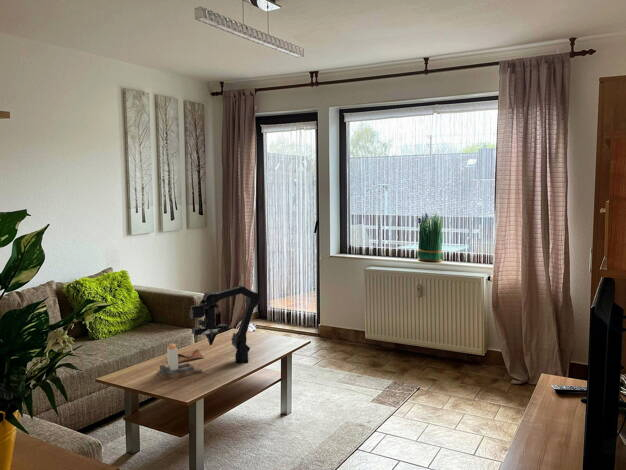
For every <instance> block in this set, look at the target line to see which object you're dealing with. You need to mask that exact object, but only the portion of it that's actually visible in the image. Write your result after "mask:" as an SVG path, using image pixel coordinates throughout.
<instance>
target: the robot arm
mask: <svg viewBox="0 0 626 470" xmlns="http://www.w3.org/2000/svg"><path fill="white" fill-rule="evenodd" d="M237 295H242V296H244V297H245V307H244V312H243V315H242V317H241V321H240V323H239V328H238V331H237V332H236V333H234V332H233V333H232V337H231V340H230V341H231V344H232V346H233V347H234V349H235V350H236V351H235V362H236V364H244V363H245V364H246V363H247V364H248V363H249V352H250V350H251V348H250V347H249V346H248V345H247V332H248V328H249V325H250V323H251V320H252V317H253V313H254V310H255V309H256V307H257V306H258V304H259V303H260V301H261V295H260V293H258V292H256V291H253V290H250V289H248V288H246V286H244V285H238V286H235V287H231V288H228V289H224V290H221V291H207V292H205V293H204V295H202V298H201V301H200V302H199V304H197V305H191V306H190V309H189V317H190V319H191V320H194V319H198V320H197V325H198V326H197V327H193V328H192V329H191V334H193V335H194V336H200V335H204V336H205V337H206V339H207V341H208V343H209V346H212V345H213V343H214V341H215V339H216V337H217V335H218V334H219V333H220V332H218V331H219V330H221V331H223V332H227V331H229V329H230V328H229V325H227V324H226V323H219V324H216V321H217V318H216V317H217V316H216V309H219V308H220V306H219V305H218V304H217V303H219V302H220V301H221V300H223V299H227V298H231V297H234V296H237ZM202 318H203V319H202ZM200 326H201V327H200Z"/></svg>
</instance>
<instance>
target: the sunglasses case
mask: <svg viewBox="0 0 626 470" xmlns="http://www.w3.org/2000/svg"><path fill="white" fill-rule="evenodd" d="M202 359H204V356H203V354H202V353H201V351H200V350H199V349H195V350H191V351H186V352H182V353H178V365H181V364H185V363H189V362H192V361H198V360H202Z"/></svg>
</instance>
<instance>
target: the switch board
mask: <svg viewBox="0 0 626 470" xmlns="http://www.w3.org/2000/svg"><path fill="white" fill-rule="evenodd" d="M202 373H203V369H202V368H201V367H200V366H199V365H197V364H196V363H189V362H185V363H180V364H178V369H177V370H172V371H168V366H166V365H165V364H161V365H159V369H158V370H157V374H158V375H159V376H160V377H161V379H163V380H164V381H165V380H171V379H175V378H181V377H187V376H191V375H197V374H202Z"/></svg>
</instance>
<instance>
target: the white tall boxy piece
mask: <svg viewBox="0 0 626 470" xmlns="http://www.w3.org/2000/svg"><path fill="white" fill-rule="evenodd" d="M166 354H167V355H166V357H167V367H168V371H172V370H177V369H178V365H179V364H178V354H179V353H178V348H177V345H176V343H169V345H168V347H166Z"/></svg>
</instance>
